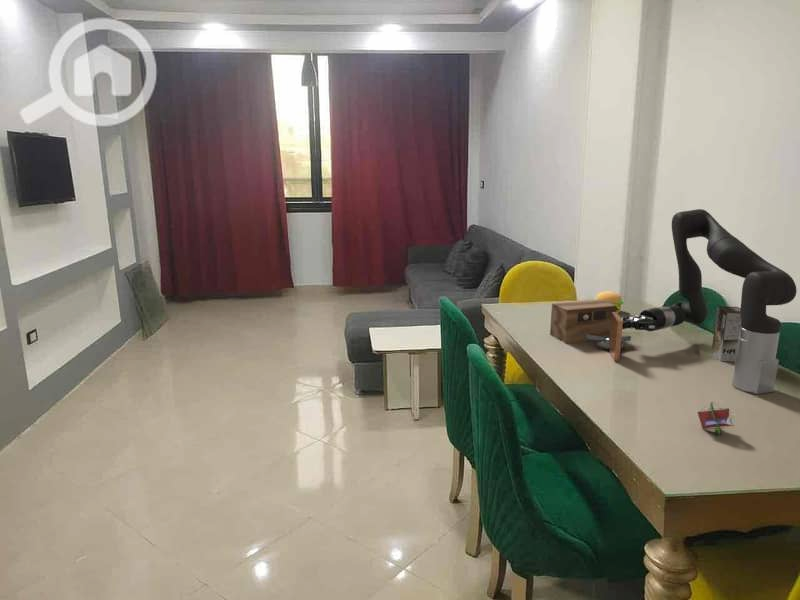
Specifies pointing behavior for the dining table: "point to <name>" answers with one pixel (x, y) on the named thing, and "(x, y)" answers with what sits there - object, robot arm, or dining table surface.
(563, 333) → the wooden box
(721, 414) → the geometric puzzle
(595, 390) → the dining table surface
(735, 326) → the coffee box
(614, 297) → the hamburger
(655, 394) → the dining table surface
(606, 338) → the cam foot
